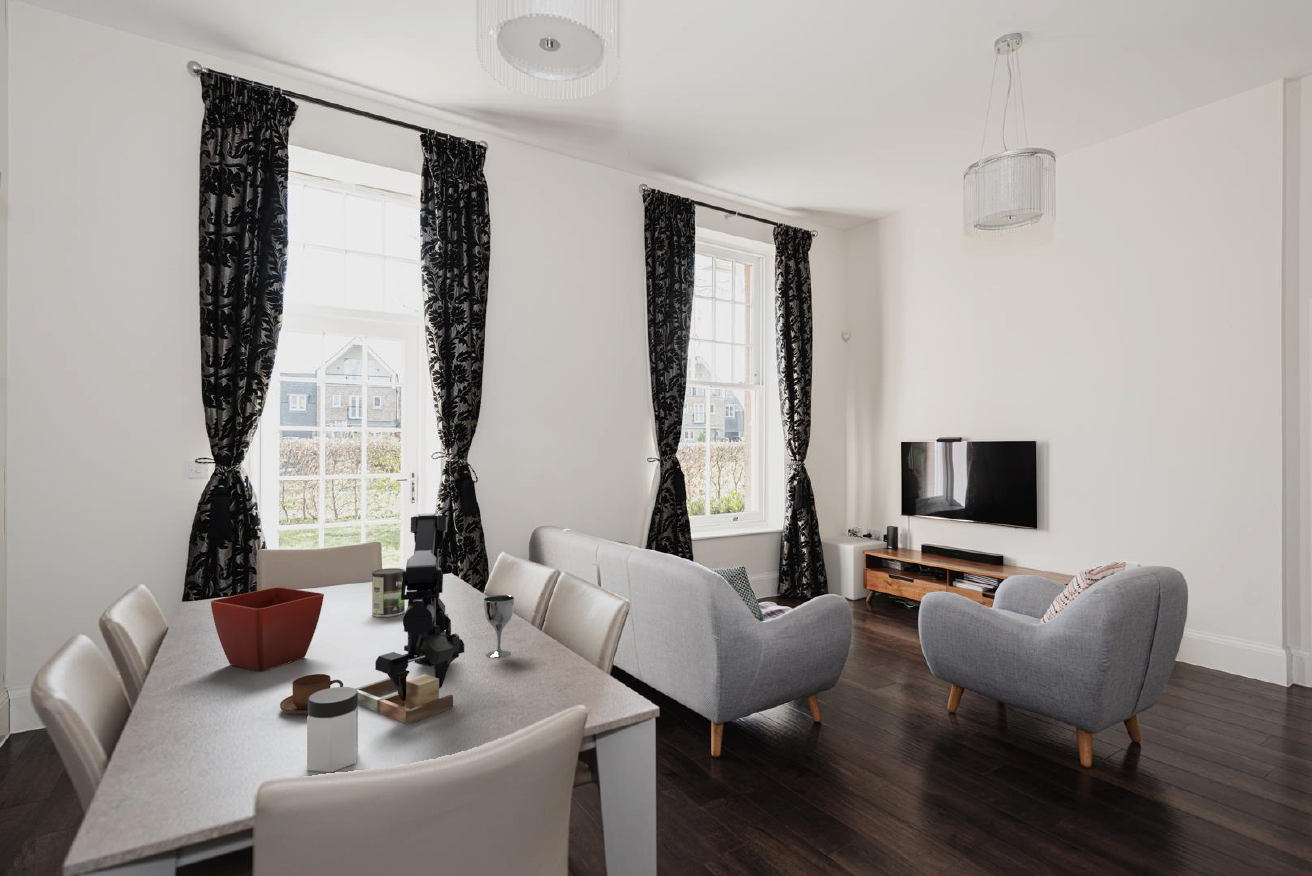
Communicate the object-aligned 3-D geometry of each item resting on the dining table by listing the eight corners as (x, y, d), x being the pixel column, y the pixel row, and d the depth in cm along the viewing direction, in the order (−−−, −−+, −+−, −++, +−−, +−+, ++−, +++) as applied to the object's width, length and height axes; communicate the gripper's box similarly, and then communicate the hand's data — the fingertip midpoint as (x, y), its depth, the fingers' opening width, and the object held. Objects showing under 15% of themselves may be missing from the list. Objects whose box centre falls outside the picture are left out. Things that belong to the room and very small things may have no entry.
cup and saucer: (326, 693, 156) (326, 666, 156) (352, 706, 148) (352, 678, 148) (270, 710, 146) (270, 681, 146) (294, 724, 139) (294, 694, 139)
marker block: (404, 708, 147) (404, 680, 147) (424, 701, 151) (424, 674, 151) (419, 714, 144) (419, 685, 144) (439, 706, 148) (439, 678, 148)
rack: (351, 701, 150) (351, 690, 150) (395, 686, 159) (395, 675, 159) (408, 724, 138) (408, 712, 138) (453, 707, 147) (453, 695, 147)
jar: (347, 746, 128) (347, 682, 128) (368, 759, 123) (368, 692, 123) (297, 763, 122) (297, 696, 122) (317, 778, 116) (317, 707, 116)
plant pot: (326, 656, 182) (326, 592, 182) (258, 678, 165) (258, 608, 165) (277, 646, 190) (277, 586, 190) (208, 667, 173) (208, 601, 173)
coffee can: (409, 609, 232) (409, 568, 232) (397, 617, 222) (397, 573, 222) (379, 609, 232) (379, 567, 232) (366, 617, 222) (366, 573, 222)
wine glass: (519, 651, 186) (519, 596, 186) (503, 660, 179) (504, 602, 179) (494, 648, 189) (494, 594, 189) (477, 656, 181) (477, 600, 181)
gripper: (406, 638, 135) (406, 717, 135) (480, 618, 150) (480, 689, 150) (373, 629, 141) (373, 704, 141) (448, 610, 157) (448, 678, 157)
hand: (421, 694), depth 147 cm, fingers open, 9 cm apart
